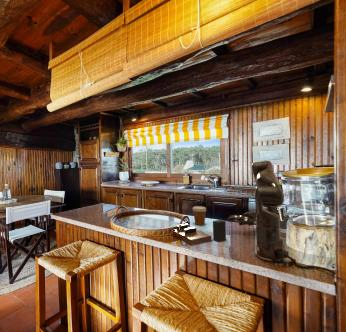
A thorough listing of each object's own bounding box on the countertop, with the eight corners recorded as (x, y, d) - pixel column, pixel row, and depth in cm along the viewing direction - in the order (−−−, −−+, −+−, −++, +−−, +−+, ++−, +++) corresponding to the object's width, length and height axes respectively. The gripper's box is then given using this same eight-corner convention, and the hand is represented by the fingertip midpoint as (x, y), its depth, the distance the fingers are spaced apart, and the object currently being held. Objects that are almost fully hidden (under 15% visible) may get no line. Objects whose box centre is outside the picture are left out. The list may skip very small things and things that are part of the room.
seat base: (211, 240, 120) (211, 231, 120) (191, 245, 116) (191, 235, 115) (190, 231, 137) (190, 223, 137) (172, 235, 132) (172, 226, 132)
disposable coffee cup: (209, 225, 148) (208, 208, 147) (195, 226, 148) (194, 209, 147) (203, 221, 157) (203, 205, 157) (191, 222, 157) (190, 206, 157)
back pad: (226, 240, 121) (225, 221, 120) (217, 241, 119) (217, 222, 118) (221, 238, 124) (220, 219, 124) (213, 239, 122) (212, 221, 122)
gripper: (242, 209, 137) (223, 212, 132) (264, 214, 124) (243, 218, 118) (242, 221, 138) (223, 224, 132) (264, 227, 124) (244, 231, 119)
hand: (233, 221), depth 125 cm, fingers open, 8 cm apart
